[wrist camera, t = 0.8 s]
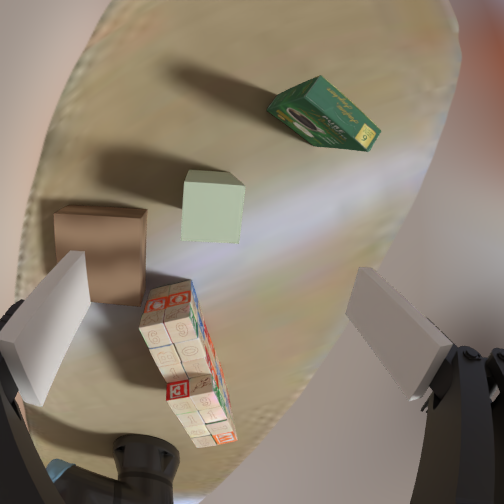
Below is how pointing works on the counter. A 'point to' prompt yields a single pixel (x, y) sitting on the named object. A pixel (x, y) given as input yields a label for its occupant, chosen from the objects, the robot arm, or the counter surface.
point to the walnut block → (106, 249)
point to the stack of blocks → (188, 364)
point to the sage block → (212, 207)
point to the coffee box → (324, 116)
